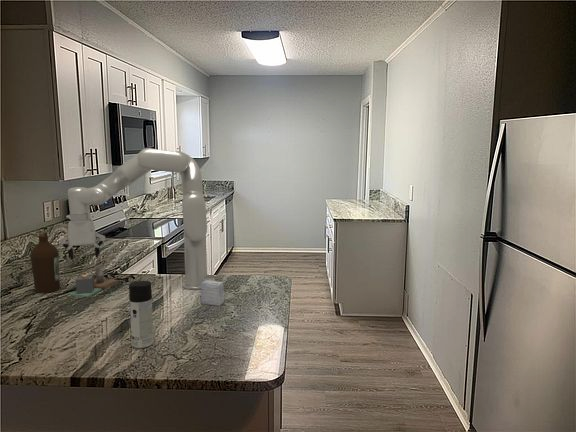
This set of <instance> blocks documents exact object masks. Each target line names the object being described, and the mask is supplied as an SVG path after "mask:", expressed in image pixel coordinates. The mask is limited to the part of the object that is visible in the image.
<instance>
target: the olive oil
mask: <svg viewBox="0 0 576 432" xmlns="http://www.w3.org/2000/svg"><path fill="white" fill-rule="evenodd" d="M48 238H49V237H48V232H47V231H45V232H39V233H38V243H37V244H35V246H34V248H32V250H31V252H30V264H31V270H32V277H33V285H34V292H35V293H38V294H47V293H48V294H49V293H54V292H56V291H58V290H60V288H61V285H60V283H61V282H60V281H61V280H60V252H59V250H58V248H57V247H56V246H55V245H53V244H52V243H51V242H50V241H49V239H48Z"/></svg>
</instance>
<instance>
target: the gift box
mask: <svg viewBox="0 0 576 432" xmlns="http://www.w3.org/2000/svg"><path fill="white" fill-rule="evenodd" d="M94 277H95V276H94V274H82V275H81V274H80V275H77V277H76V279H75V289H76V290H75V291H77V294H85V293H93V290H94V279H95V278H94Z"/></svg>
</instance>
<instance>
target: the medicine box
mask: <svg viewBox="0 0 576 432" xmlns="http://www.w3.org/2000/svg"><path fill="white" fill-rule="evenodd" d="M200 290H201V291H200V293H201V294H200V295H201V304H202V305H210V306H216V307H217V306H218V307H219V306H222V304H224V303H225V295H224V294H225V293H224V290H225V289H224V281H217V280H215V281H209V280H206V281H204V282H202V283H201V289H200Z"/></svg>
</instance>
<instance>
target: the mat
mask: <svg viewBox="0 0 576 432" xmlns="http://www.w3.org/2000/svg"><path fill="white" fill-rule="evenodd" d="M102 290H103V289H99V288H94V290H93V293H85V294H77V291H76V290H74V291H72V292H70V293H68V296H74V297H75V296H76V297H84V298H88V297H91V296H93V295H95V294H97V293H99V292H101V291H102Z"/></svg>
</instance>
